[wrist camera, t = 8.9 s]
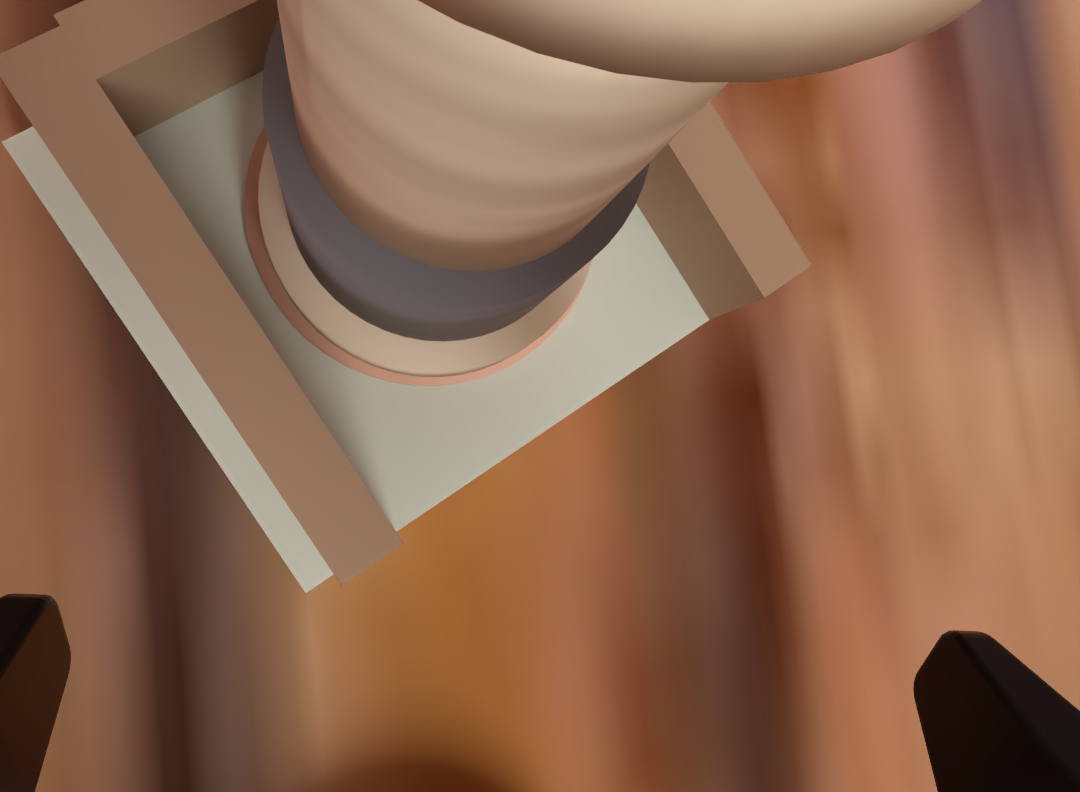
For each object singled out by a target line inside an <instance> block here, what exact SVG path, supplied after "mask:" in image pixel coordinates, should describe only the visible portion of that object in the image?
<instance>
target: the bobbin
mask: <svg viewBox="0 0 1080 792" xmlns="http://www.w3.org/2000/svg"><path fill="white" fill-rule="evenodd" d="M980 1H982V0H277V5H278V12H279V18H278V20H277V22H276V25H275V27H274V30H273V33H272V36H271V39H270V42H269V45H268V49H267V54H266V59H265V64H264V70H263V87H262V102H263V113H264V124H265V128H266V132H267V136H268V143H267V146H266V149H265V152H264V155H263V160H262V165H261V170H260V175H259V192H258V203H259V214H260V223H261V228H262V232H263V236H264V240H265V245H266V247H267V250H268V253H269V255H270V258H271V260H272V263H273V266H274V268H275V271H276V273H277V276H278V278H279V280H280V282H281V284H282V286H283V288H284V289H285V291H286V293H287V295H288V297H289V298H290V300H291V301H292V302H293V304H294V305H295V307H296V308H297V309H298V311H299V312H300V313H301V315H302V316H303V317H304V318H305V319H306V320H307V321H308V322H309V323H310V324H311V325H312V327H313V328H314V329H315V330H316V331H317V332H318V333H320V334H321V335H322V336H323V337H325V338H326V339H327V340H328V341H330V342H331V343H332V344H333V345H334V346H336V347H338V348H339V349H341V350H343V351H344V352H346V353H347V354H349V355H351V356H352V357H354V358H356V359H358V360H361V361H363V362H365V363H367V364H370V365H372V366H374V367H377V368H381V369H384V370H387V371H390V372H394V373H399V374H405V375H411V376H420V377H445V376H456V375H462V374H466V373H471V372H475V371H479V370H482V369H484V368H487V367H490V366H493V365H495V364H498V363H500V362H502V361H504V360H505V359H507V358H509V357H511V356H513V355H515V354H517V353H518V352H520V351H521V350H523V349H524V348H526V347H527V346H528V345H530V344H531V343H533V342H534V341H535V340H537V339H538V338H540V337H541V336H542V335H544V334H545V333H546V332H547V331H548V330H549V329H550V328H551V327H552V326H553V325H554V324H555V323H556V322H557V321H558V320H559V319H560V318H561V317H562V315H563V314H564V313H565V312H566V310H567V309H568V308H569V307H570V305H571V304H572V302H573V301H574V299H575V297H576V296H577V294H578V292H579V291H580V289H581V287H582V285H583V283H584V281H585V278H586V276H587V274H588V272H589V269H590V266H591V263H592V259H593V258H594V257H595V256H596V255H597V254H598V253H599V252H600V251H601V250H603V249H604V248H605V247H606V246H607V245H608V244H609V243H610V241H611V240H612V239H613V238H614V236H615V235H616V234H617V233H618V231H619V230H620V229H621V228H622V226H623V225H624V223H625V222H626V220H627V218H628V217H629V215H630V213H631V212H632V210H633V208H634V207H635V204H636V202H637V200H638V197H639V195H640V193H641V190H642V188H643V186H644V183H645V179H646V176H647V172H648V168H649V165H650V161H651V160H652V159H653V158H654V157H655V156H656V155H657V154H658V153H659V152H660V151H661V150H662V149H663V148H664V147H665V146H666V145H667V144H668V143H669V142H670V141H671V140H672V139H673V138H674V137H675V136H676V135H677V134H678V133H679V132H680V131H681V130H682V129H683V128H684V127H685V126H686V125H687V124H688V123H689V122H690V121H691V120H692V119H693V118H694V117H695V116H696V115H697V114H698V113H699V112H700V111H701V110H702V109H703V108H704V107H705V106H706V105H707V104H708V103H709V102H710V101H711V100H712V99H713V98H714V97H715V96H716V95H717V94H718V93H719V92H720V91H721V90H722V89H723V88H724V87H725V86H726V85H727V84H728V83H729V82H764V81H771V80H777V79H783V78H790V77H796V76H802V75H809V74H815V73H822V72H828V71H833V70H836V69H839V68H842V67H845V66H849V65H852V64H855V63H858V62H861V61H865V60H868V59H871V58H874V57H877V56H880V55H884V54H887V53H890V52H893V51H895V50H897V49H899V48H901V47H903V46H905V45H907V44H909V43H911V42H913V41H915V40H917V39H919V38H921V37H923V36H925V35H927V34H930V33H932V32H934V31H936V30H938V29H940V28H942V27H944V26H946V25H948V24H949V23H951V22H952V21H954V20H955V19H956V18H958V17H959V16H961V15H962V14H963V13H965V12H966V11H968V10H969V9H971V8H972V7H973V6H975V5H976V4H978V3H979V2H980Z"/></svg>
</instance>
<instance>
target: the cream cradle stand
mask: <svg viewBox="0 0 1080 792" xmlns="http://www.w3.org/2000/svg"><path fill="white" fill-rule="evenodd" d="M53 16H54V17H55V19H56V20H57V22H58V23H59V25H60V26H58V27H56V28H54V29H52V30H50V31H48V32H46V33H43V34H41V35H39V36H37V37H35V38H33V39H31V40H28V41H26V42H24V43H22V44H20V45H18V46H16V47H13V48H11V49H9V50H7V51H5V52H3V53H1V54H0V78H1V79H2V80H3V82H4V83H5V85H6V86H7V88H8V89H9V91H10V92H11V94H12V95H13V97H14V98H15V100H16V101H17V103H18V104H19V106H20V107H21V109H22V110H23V112H24V113H25V115H26V116H27V118H28V119H29V121H30V122H31V124H32V125H33V126H32V127H30V128H28V129H26V130H24V131H22V132H20V133H18V134H16V135H14V136H12V137H10V138H8V139H6V140H4V141H2V143H3V145H4V146H5V148H6V149H7V151H8V152H9V154H10V155H11V157H12V158H13V160H14V161H15V163H16V164H17V166H18V167H19V169H20V170H21V172H22V173H23V175H24V176H25V178H26V179H27V181H28V182H29V184H30V185H31V186H32V188H33V189H34V191H35V192H36V194H37V195H38V197H39V198H40V200H41V201H42V203H43V204H44V206H45V207H46V209H47V210H48V212H49V213H50V215H51V216H52V218H53V219H54V221H55V222H56V224H57V225H58V227H59V228H60V229H61V231H62V232H63V234H64V235H65V237H66V238H67V240H68V241H69V243H70V244H71V246H72V247H73V249H74V250H75V252H76V253H77V255H78V256H79V258H80V259H81V261H82V262H83V264H84V265H85V267H86V268H87V270H88V271H89V272H90V274H91V275H92V277H93V278H94V280H95V281H96V283H97V284H98V286H99V287H100V289H101V290H102V292H103V293H104V295H105V296H106V298H107V299H108V301H109V302H110V304H111V305H112V307H113V308H114V310H115V311H116V313H117V314H118V316H119V317H120V318H121V320H122V321H123V323H124V324H125V326H126V327H127V329H128V330H129V332H130V333H131V335H132V336H133V338H134V339H135V341H136V342H137V344H138V345H139V347H140V348H141V350H142V351H143V353H144V354H145V356H146V357H147V359H148V360H149V361H150V363H151V364H152V366H153V367H154V369H155V370H156V372H157V373H158V375H159V376H160V378H161V379H162V381H163V382H164V384H165V385H166V387H167V388H168V390H169V391H170V393H171V394H172V396H173V397H174V399H175V400H176V402H177V403H178V404H179V406H180V407H181V409H182V410H183V412H184V413H185V415H186V416H187V418H188V419H189V421H190V422H191V424H192V425H193V427H194V428H195V430H196V431H197V433H198V434H199V436H200V437H201V439H202V440H203V442H204V443H205V445H206V446H207V447H208V449H209V450H210V452H211V453H212V455H213V456H214V458H215V459H216V461H217V462H218V464H219V465H220V467H221V468H222V470H223V471H224V473H225V474H226V476H227V477H228V479H229V480H230V482H231V483H232V485H233V486H234V488H235V489H236V490H237V492H238V493H239V495H240V496H241V498H242V499H243V501H244V502H245V504H246V505H247V507H248V508H249V510H250V511H251V513H252V514H253V516H254V517H255V519H256V520H257V522H258V523H259V525H260V526H261V528H262V529H263V531H264V532H265V533H266V535H267V536H268V538H269V539H270V541H271V542H272V544H273V545H274V547H275V548H276V550H277V551H278V553H279V554H280V556H281V557H282V559H283V560H284V562H285V563H286V565H287V566H288V568H289V569H290V571H291V572H292V574H293V575H294V576H295V578H296V579H297V581H298V582H299V584H300V585H301V587H302V588H303V590H304V591H305V593H307V592H308V591H310V590H311V589H312V588H314V587H315V586H317V585H318V584H320V583H321V582H323V581H324V580H326V579H327V578H329V577H330V576H332V575H333V574H334V575H335V577H336V578H337V580H338V581H339V583H340V584H341V586H343V585H345V584H346V583H347V582H349V581H350V580H352V579H353V578H355V577H356V576H358V575H359V574H361V573H362V572H364V571H365V570H367V569H368V568H369V567H371V566H372V565H374V564H375V563H377V562H378V561H380V560H381V559H383V558H384V557H386V556H387V555H389V554H390V553H391V552H393V551H394V550H396V549H397V548H399V547H400V546H402V545H403V544H404V543H403V541H402V540H401V538H400V537H399V535H398V534H397V531H398V530H400V529H401V528H403V527H404V526H405V525H407V524H408V523H410V522H411V521H413V520H414V519H416V518H417V517H419V516H420V515H422V514H423V513H425V512H426V511H428V510H429V509H431V508H432V507H434V506H435V505H437V504H438V503H439V502H441V501H442V500H444V499H445V498H447V497H448V496H450V495H451V494H453V493H454V492H456V491H457V490H459V489H460V488H462V487H463V486H465V485H466V484H468V483H469V482H470V481H472V480H473V479H475V478H476V477H478V476H479V475H481V474H482V473H484V472H485V471H487V470H488V469H490V468H491V467H493V466H494V465H496V464H497V463H499V462H500V461H501V460H503V459H504V458H506V457H507V456H509V455H510V454H512V453H513V452H515V451H516V450H518V449H519V448H521V447H522V446H524V445H525V444H527V443H528V442H530V441H531V440H532V439H534V438H535V437H537V436H538V435H540V434H541V433H543V432H544V431H546V430H547V429H549V428H550V427H552V426H553V425H555V424H556V423H558V422H559V421H561V420H562V419H563V418H565V417H566V416H568V415H569V414H571V413H572V412H574V411H575V410H577V409H578V408H580V407H581V406H583V405H584V404H586V403H587V402H589V401H590V400H592V399H593V398H594V397H596V396H597V395H599V394H600V393H602V392H603V391H605V390H606V389H608V388H609V387H611V386H612V385H614V384H615V383H617V382H618V381H620V380H621V379H623V378H624V377H625V376H627V375H628V374H630V373H631V372H633V371H634V370H636V369H637V368H639V367H640V366H642V365H643V364H645V363H646V362H648V361H649V360H651V359H652V358H654V357H655V356H656V355H658V354H659V353H661V352H662V351H664V350H665V349H667V348H668V347H670V346H671V345H673V344H674V343H676V342H677V341H679V340H680V339H682V338H683V337H685V336H686V335H687V334H689V333H690V332H692V331H693V330H695V329H696V328H698V327H699V326H701V325H702V324H704V323H705V322H707V321H708V320H710V319H712V318H715V317H717V316H720V315H722V314H725V313H727V312H730V311H732V310H735V309H738V308H740V307H743V306H745V305H748V304H750V303H753V302H755V301H758V300H760V299H763V298H765V297H766V296H768V295H769V294H771V293H772V292H774V291H775V290H777V289H778V288H780V287H781V286H782V285H784V284H785V283H787V282H788V281H790V280H791V279H793V278H794V277H796V276H797V275H799V274H800V273H801V272H803V271H804V270H806V269H807V268H809V267H810V266H812V265H811V264H810V262H809V261H808V259H807V257H806V256H805V254H804V253H803V251H802V249H801V248H800V246H799V244H798V243H797V241H796V240H795V238H794V236H793V235H792V233H791V231H790V230H789V228H788V227H787V225H786V223H785V222H784V220H783V219H782V217H781V215H780V214H779V212H778V210H777V209H776V207H775V206H774V204H773V202H772V201H771V199H770V197H769V196H768V194H767V193H766V191H765V189H764V188H763V186H762V185H761V183H760V181H759V180H758V178H757V176H756V175H755V173H754V172H753V170H752V168H751V167H750V165H749V164H748V162H747V160H746V159H745V157H744V155H743V154H742V152H741V151H740V149H739V147H738V146H737V144H736V142H735V141H734V139H733V138H732V136H731V134H730V133H729V131H728V130H727V128H726V126H725V125H724V123H723V121H722V120H721V118H720V117H719V115H718V113H717V112H716V110H715V108H714V107H713V105H712V104H711V102H709V103H708V104H707V105H706V106H705V107H704V108H703V109H702V110H701V111H700V112H699V113H698V114H697V115H696V116H695V117H694V118H693V119H692V120H691V121H690V122H689V123H688V124H687V125H686V126H685V127H684V128H683V129H682V130H681V131H680V132H679V133H678V134H677V135H676V136H675V137H674V138H673V139H672V140H671V141H670V142H669V143H668V144H667V145H666V146H665V147H664V148H663V149H662V150H661V151H660V152H659V153H658V154H657V155H656V156H655V157H654V158H653V159H652V160H651V161H650V165H649V168H648V172H647V176H646V179H645V183H644V186H643V188H642V190H641V193H640V195H639V197H638V200H637V202H636V204H635V207H634V208H633V210H632V212H631V213H630V215H629V217H628V218H627V220H626V222H625V223H624V225H623V226H622V228H621V229H620V230H619V231H618V233H617V234H616V235H615V236H614V238H613V239H612V240H611V241H610V243H609V244H608V245H607V246H606V247H605V248H604V249H603V250H601V251H600V252H599V253H598V254H597V255H596V256H595V257H594V258H593V259H592V263H591V266H590V269H589V272H588V274H587V276H586V278H585V281H584V283H583V285H582V287H581V289H580V291H579V292H578V294H577V296H576V297H575V299H574V301H573V302H572V304H571V305H570V307H569V308H568V309H567V310H566V312H565V313H564V314H563V315H562V317H561V318H560V319H559V320H558V321H557V322H556V323H555V324H554V325H553V326H552V327H551V328H550V329H549V330H548V331H547V332H546V333H545V334H544V335H542V336H541V337H540V338H538V339H537V340H535V341H534V342H533V343H531V344H530V345H528V346H527V347H526V348H524V349H523V350H521V351H520V352H518V353H517V354H515V355H513V356H511V357H509V358H507V359H505V360H504V361H502V362H500V363H498V364H495V365H493V366H490V367H487V368H484V369H482V370H479V371H475V372H471V373H466V374H462V375H456V376H445V377H420V376H411V375H405V374H399V373H394V372H390V371H387V370H384V369H381V368H377V367H374V366H372V365H370V364H367V363H365V362H363V361H361V360H358V359H356V358H354V357H352V356H351V355H349V354H347V353H346V352H344V351H343V350H341V349H339V348H338V347H336V346H334V345H333V344H332V343H331V342H330V341H328V340H327V339H326V338H325V337H323V336H322V335H321V334H320V333H318V332H317V331H316V330H315V329H314V328H313V327H312V325H311V324H310V323H309V322H308V321H307V320H306V319H305V318H304V317H303V316H302V315H301V313H300V312H299V311H298V309H297V308H296V307H295V305H294V304H293V302H292V301H291V300H290V298H289V297H288V295H287V293H286V291H285V289H284V288H283V286H282V284H281V282H280V280H279V278H278V276H277V273H276V271H275V268H274V266H273V263H272V260H271V258H270V255H269V253H268V250H267V247H266V245H265V240H264V236H263V232H262V228H261V223H260V214H259V203H258V192H259V175H260V170H261V165H262V160H263V155H264V152H265V149H266V146H267V143H268V136H267V132H266V128H265V124H264V113H263V102H262V87H263V70H264V64H265V59H266V54H267V49H268V45H269V42H270V39H271V36H272V33H273V30H274V27H275V25H276V22H277V20H278V18H279V12H278V5H277V0H84V1H82V2H80V3H77V4H75V5H73V6H71V7H69V8H67V9H65V10H62V11H60V12H58V13H56V14H54V15H53Z"/></svg>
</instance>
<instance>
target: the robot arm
mask: <svg viewBox="0 0 1080 792" xmlns="http://www.w3.org/2000/svg"><path fill="white" fill-rule="evenodd" d="M70 662H71V652H70V646H69V643H68V639H67V636H66V632H65V629H64V625H63V621H62V618H61V614H60V611H59V607H58V605H57V602H56V601H55V600H54V599H53V598H52V597H51V596H48V595H37V594H8V595H5V596H3V597H1V598H0V792H35V789H36V785H37V782H38V779H39V775H40V772H41V768H42V765H43V761H44V758H45V754H46V751H47V747H48V744H49V740H50V737H51V733H52V730H53V726H54V723H55V720H56V716H57V713H58V709H59V706H60V702H61V699H62V695H63V692H64V688H65V685H66V681H67V678H68V674H69V669H70ZM914 698H915V703H916V707H917V711H918V715H919V719H920V723H921V727H922V730H923V734H924V738H925V742H926V746H927V750H928V754H929V758H930V762H931V766H932V770H933V774H934V778H935V782H936V786H937V790H938V792H1080V711H1079V710H1078V709H1077V708H1076V707H1074V706H1073V705H1072V704H1071V703H1070V702H1068V701H1067V700H1066V699H1065V698H1064V697H1062V696H1061V695H1060V694H1059V693H1058V692H1057V691H1055V690H1054V689H1053V688H1052V687H1051V686H1049V685H1048V684H1047V683H1046V682H1045V681H1044V680H1042V679H1041V678H1040V677H1039V676H1038V675H1036V674H1035V673H1034V672H1033V671H1032V670H1030V669H1029V668H1028V667H1027V666H1026V665H1025V664H1023V663H1022V662H1021V661H1020V660H1019V659H1017V658H1016V657H1015V656H1014V655H1013V654H1012V653H1010V652H1009V651H1008V650H1007V649H1006V648H1004V647H1003V646H1002V645H1001V644H1000V643H998V642H997V641H996V640H995V639H994V638H992V637H991V636H989V635H987V634H985V633H982V632H977V631H955V630H953V631H948V632H946V633H944V634H943V635H942V636H941V637H940V638H939V640H938V641H937V643H936V644H935V646H934V648H933V649H932V651H931V652H930V654H929V655H928V657H927V658H926V660H925V661H924V663H923V665H922V666H921V668H920V669H919V671H918V672H917V674H916V677H915V680H914Z"/></svg>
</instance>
